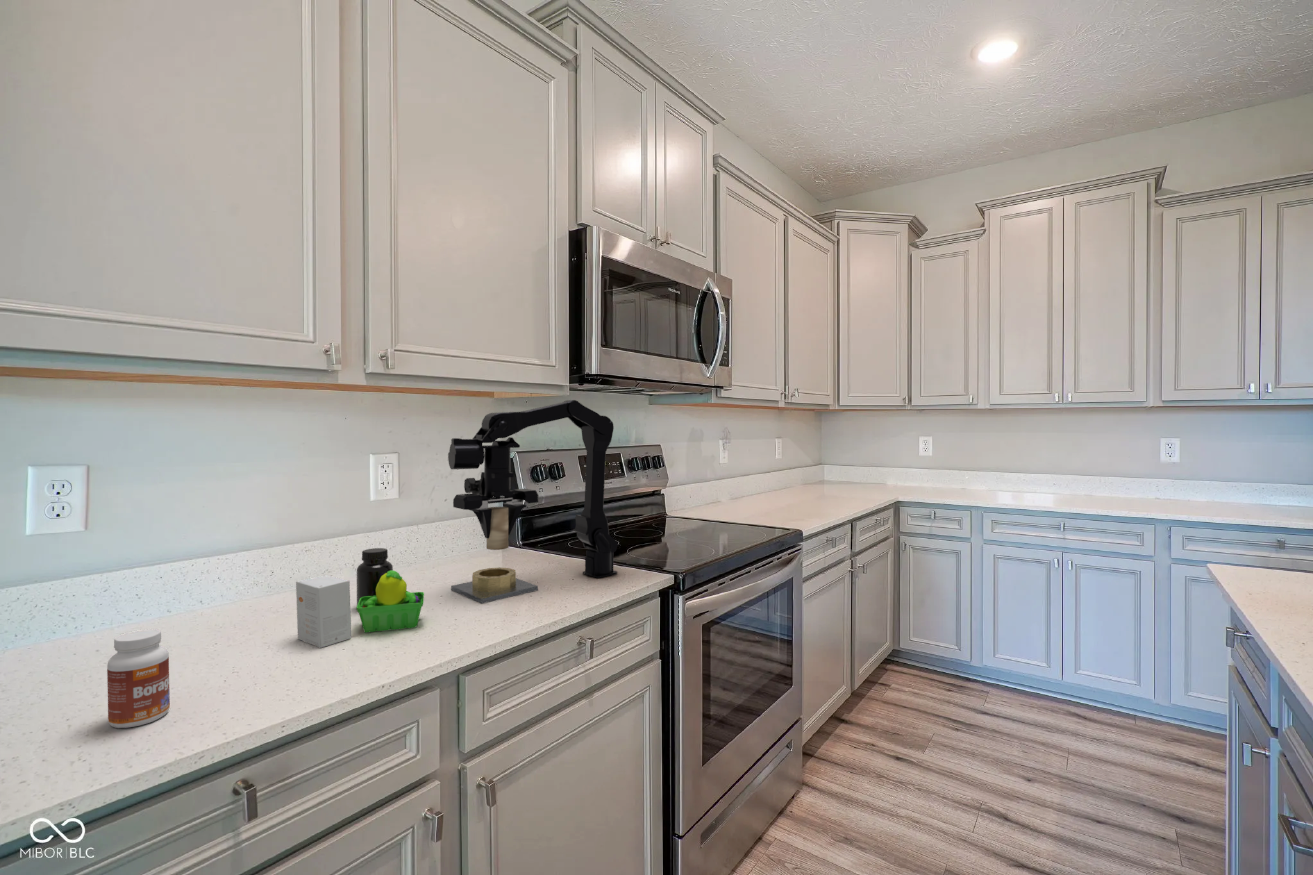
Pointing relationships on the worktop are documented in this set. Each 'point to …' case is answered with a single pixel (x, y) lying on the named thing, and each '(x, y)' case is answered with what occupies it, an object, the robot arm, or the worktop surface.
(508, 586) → the ring collar
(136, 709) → the pill bottle
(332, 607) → the small box
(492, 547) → the piston
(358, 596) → the supplement bottle
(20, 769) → the worktop surface
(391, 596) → the fruit basket
